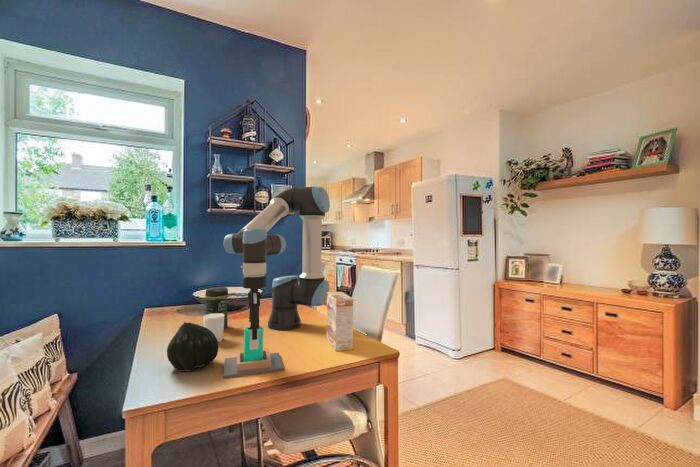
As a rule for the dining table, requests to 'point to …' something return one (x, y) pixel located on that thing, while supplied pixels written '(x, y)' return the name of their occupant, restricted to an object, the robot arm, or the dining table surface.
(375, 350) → the dining table surface
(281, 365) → the candle plate
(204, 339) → the squash
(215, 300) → the coffee jar
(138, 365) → the dining table surface
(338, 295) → the coffeecake box
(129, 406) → the dining table surface
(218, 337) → the white cup
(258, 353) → the candle
